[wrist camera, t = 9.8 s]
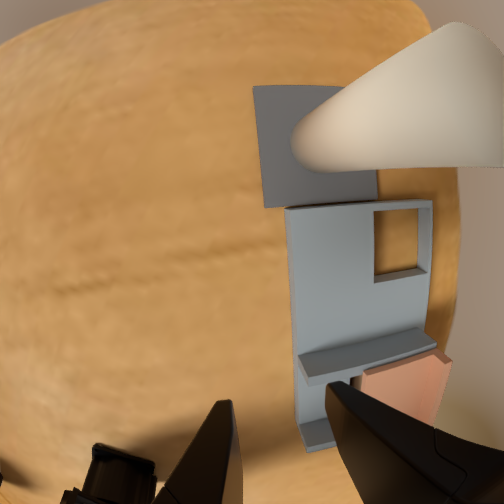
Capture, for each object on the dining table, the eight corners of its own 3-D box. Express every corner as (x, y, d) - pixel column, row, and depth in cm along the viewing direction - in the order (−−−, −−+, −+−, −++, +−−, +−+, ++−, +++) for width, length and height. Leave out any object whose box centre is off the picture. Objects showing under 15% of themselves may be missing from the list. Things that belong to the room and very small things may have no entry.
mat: (264, 207, 19) (265, 208, 19) (252, 88, 18) (253, 86, 17) (375, 198, 20) (377, 199, 20) (363, 90, 18) (366, 88, 18)
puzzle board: (295, 419, 24) (306, 453, 19) (284, 208, 20) (302, 214, 15) (403, 389, 25) (424, 415, 20) (420, 198, 21) (457, 203, 16)
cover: (353, 439, 20) (362, 457, 18) (363, 371, 18) (376, 388, 16) (419, 416, 20) (430, 430, 18) (436, 347, 19) (452, 360, 17)
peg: (288, 170, 19) (439, 146, 5) (291, 110, 18) (423, -2, 4) (346, 176, 19) (528, 181, 6) (348, 119, 18) (516, 58, 5)
